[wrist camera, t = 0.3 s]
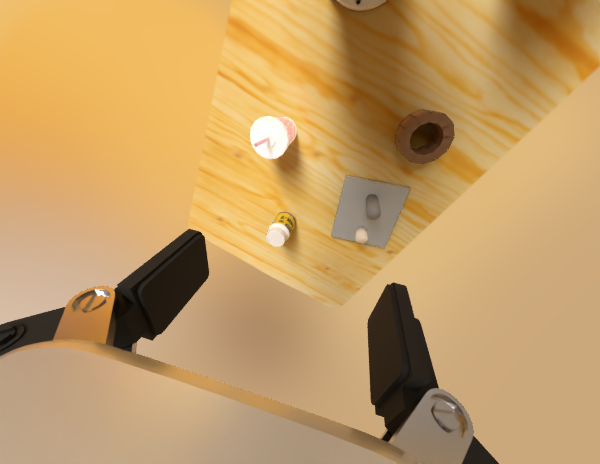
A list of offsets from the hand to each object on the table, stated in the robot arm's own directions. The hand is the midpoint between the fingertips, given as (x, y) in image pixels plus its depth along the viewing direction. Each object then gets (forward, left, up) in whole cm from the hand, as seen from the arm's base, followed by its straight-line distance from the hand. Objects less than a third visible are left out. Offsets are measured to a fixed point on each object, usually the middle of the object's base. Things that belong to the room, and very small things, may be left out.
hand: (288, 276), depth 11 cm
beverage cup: (-1, -10, -35) cm, 37 cm away
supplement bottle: (+18, -8, -35) cm, 40 cm away
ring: (-4, +13, -35) cm, 37 cm away
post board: (+12, +9, -35) cm, 38 cm away
